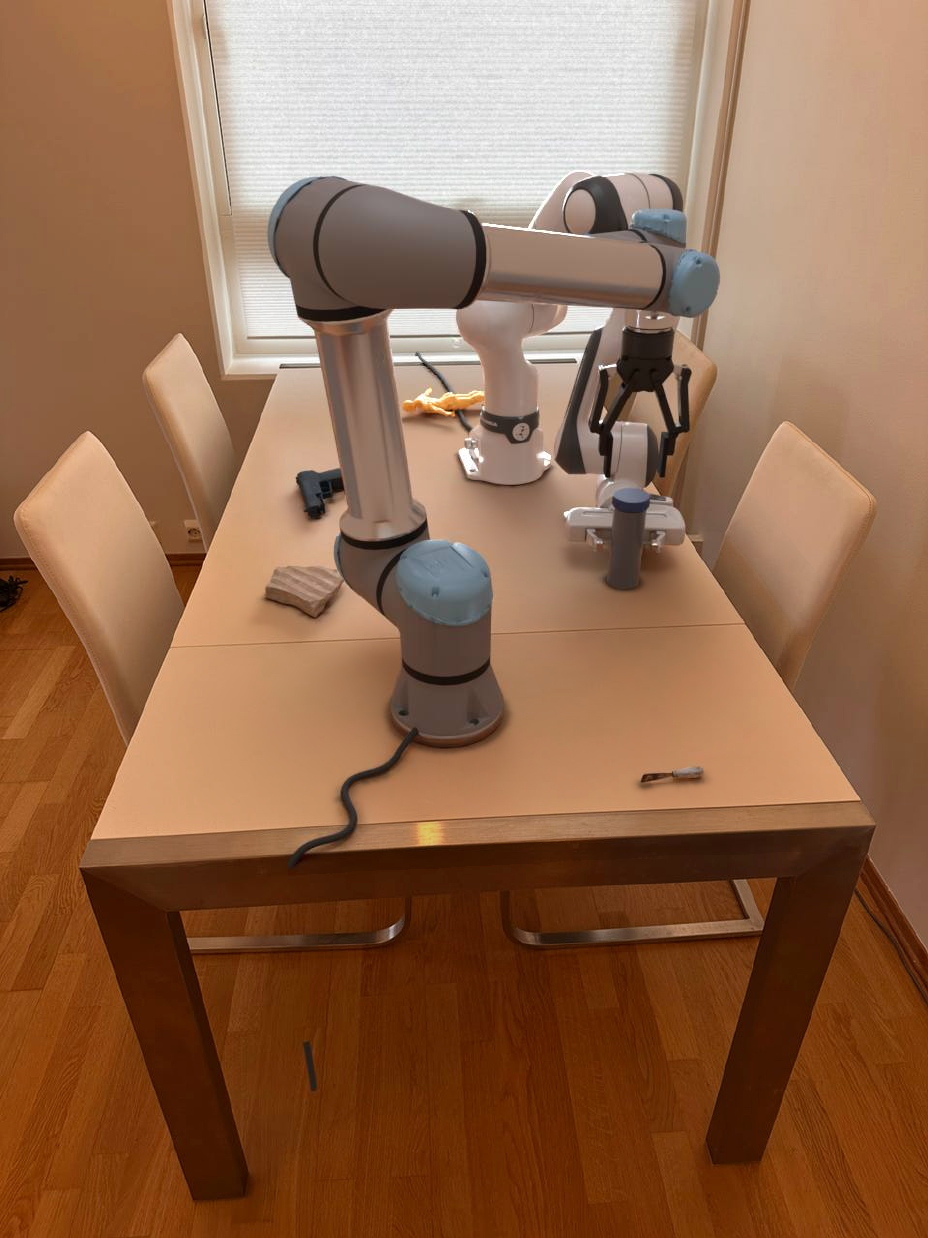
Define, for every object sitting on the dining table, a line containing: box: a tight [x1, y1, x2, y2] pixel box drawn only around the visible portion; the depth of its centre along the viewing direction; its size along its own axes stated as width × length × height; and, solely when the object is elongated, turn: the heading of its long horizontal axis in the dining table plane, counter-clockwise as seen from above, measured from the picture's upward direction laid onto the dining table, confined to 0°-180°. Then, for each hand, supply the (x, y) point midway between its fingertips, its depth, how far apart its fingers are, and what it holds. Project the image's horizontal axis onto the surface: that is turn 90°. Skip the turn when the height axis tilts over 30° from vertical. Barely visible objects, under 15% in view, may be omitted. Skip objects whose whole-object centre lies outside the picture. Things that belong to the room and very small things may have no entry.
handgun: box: [295, 467, 344, 519], centre depth 179 cm, size 3×18×12 cm
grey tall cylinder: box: [606, 507, 647, 590], centre depth 147 cm, size 5×5×15 cm
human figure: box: [402, 385, 484, 418], centre depth 225 cm, size 20×20×4 cm
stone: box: [264, 565, 345, 618], centre depth 147 cm, size 13×12×3 cm
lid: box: [612, 488, 650, 513], centre depth 143 cm, size 6×6×2 cm
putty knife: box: [640, 765, 705, 784], centre depth 109 cm, size 1×8×2 cm, turn 103°
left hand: (633, 474), depth 141 cm, fingers open, 8 cm apart
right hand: (627, 548), depth 147 cm, fingers open, 8 cm apart
